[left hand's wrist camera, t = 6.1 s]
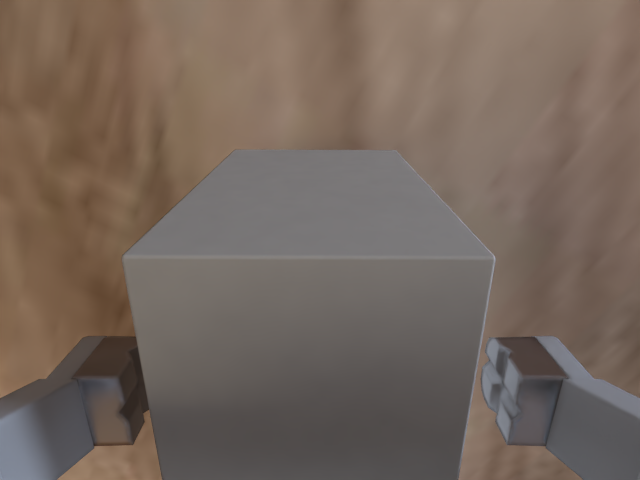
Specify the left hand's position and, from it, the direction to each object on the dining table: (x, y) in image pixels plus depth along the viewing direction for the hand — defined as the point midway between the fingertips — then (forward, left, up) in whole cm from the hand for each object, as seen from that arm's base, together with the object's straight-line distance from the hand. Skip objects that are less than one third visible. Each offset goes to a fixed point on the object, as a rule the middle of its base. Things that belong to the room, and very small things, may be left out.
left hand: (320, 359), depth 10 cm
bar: (+2, +7, -6) cm, 10 cm away
